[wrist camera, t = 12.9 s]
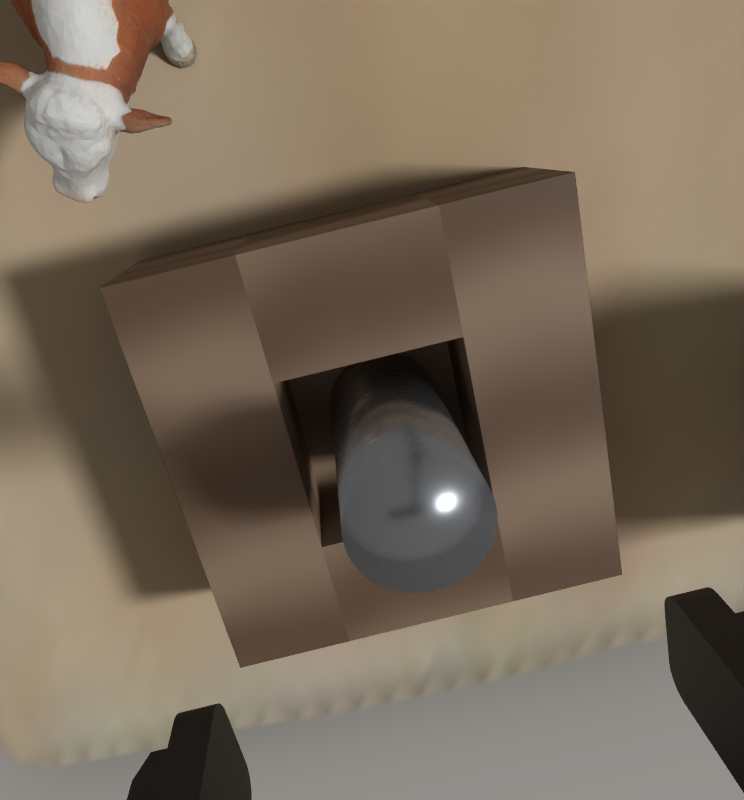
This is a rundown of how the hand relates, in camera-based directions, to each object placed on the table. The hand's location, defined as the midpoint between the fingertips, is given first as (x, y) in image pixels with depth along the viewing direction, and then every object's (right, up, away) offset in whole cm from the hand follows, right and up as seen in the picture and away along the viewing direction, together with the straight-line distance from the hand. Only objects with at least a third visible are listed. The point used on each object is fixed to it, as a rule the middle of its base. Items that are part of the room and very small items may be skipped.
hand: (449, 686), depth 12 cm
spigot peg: (-1, +5, +14) cm, 15 cm away
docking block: (-1, +5, +15) cm, 16 cm away
